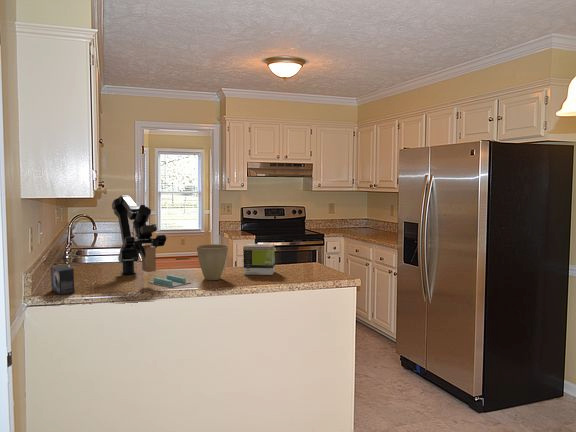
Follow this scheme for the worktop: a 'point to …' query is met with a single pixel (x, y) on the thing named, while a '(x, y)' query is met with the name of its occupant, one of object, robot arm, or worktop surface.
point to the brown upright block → (149, 258)
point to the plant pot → (212, 260)
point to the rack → (170, 281)
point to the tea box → (259, 259)
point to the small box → (62, 279)
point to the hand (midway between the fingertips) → (149, 256)
